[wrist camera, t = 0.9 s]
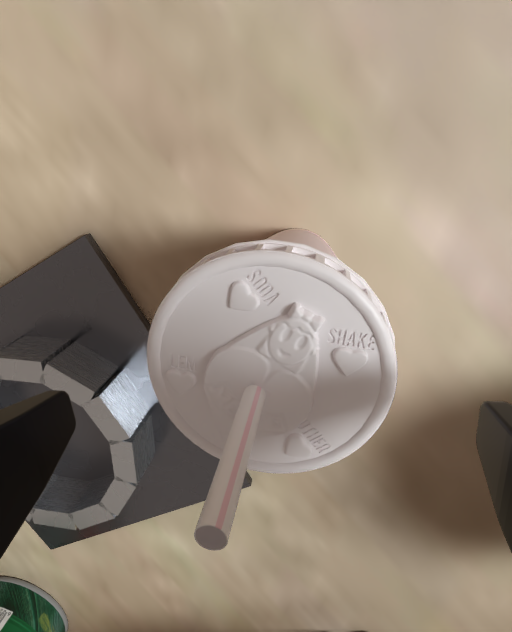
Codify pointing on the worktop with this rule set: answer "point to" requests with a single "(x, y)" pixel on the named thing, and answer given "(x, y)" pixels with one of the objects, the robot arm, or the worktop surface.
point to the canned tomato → (28, 608)
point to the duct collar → (95, 398)
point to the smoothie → (271, 363)
